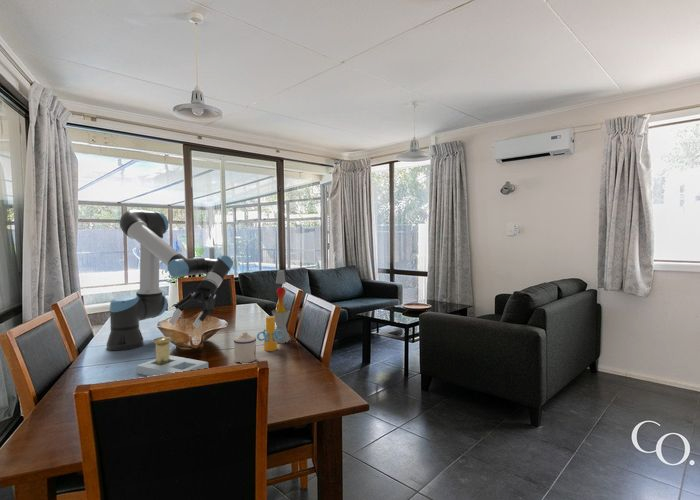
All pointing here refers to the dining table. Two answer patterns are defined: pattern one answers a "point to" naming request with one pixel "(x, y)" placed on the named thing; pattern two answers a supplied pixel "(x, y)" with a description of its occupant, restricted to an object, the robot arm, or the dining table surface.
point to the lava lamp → (281, 310)
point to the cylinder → (270, 334)
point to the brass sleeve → (162, 350)
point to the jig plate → (170, 366)
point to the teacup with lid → (245, 348)
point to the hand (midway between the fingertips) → (182, 325)
